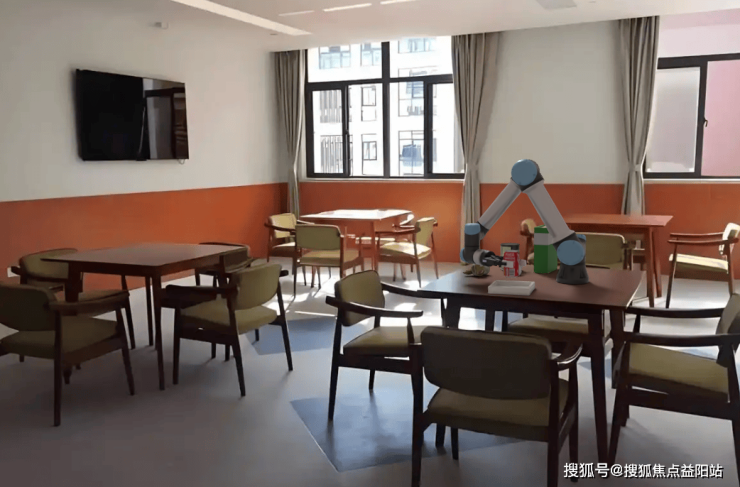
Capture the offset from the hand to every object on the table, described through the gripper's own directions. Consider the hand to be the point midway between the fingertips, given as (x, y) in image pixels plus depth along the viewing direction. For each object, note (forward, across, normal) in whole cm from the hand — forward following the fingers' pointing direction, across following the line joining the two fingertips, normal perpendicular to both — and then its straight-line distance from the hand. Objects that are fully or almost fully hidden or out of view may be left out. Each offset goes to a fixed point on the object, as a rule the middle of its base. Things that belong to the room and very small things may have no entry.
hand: (519, 264), depth 293 cm
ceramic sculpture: (-45, -15, -13) cm, 50 cm away
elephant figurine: (-37, -32, -13) cm, 51 cm away
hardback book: (-36, -53, -13) cm, 66 cm away
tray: (-5, 0, -13) cm, 14 cm away
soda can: (-5, 0, -7) cm, 8 cm away
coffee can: (-51, -42, -13) cm, 67 cm away
